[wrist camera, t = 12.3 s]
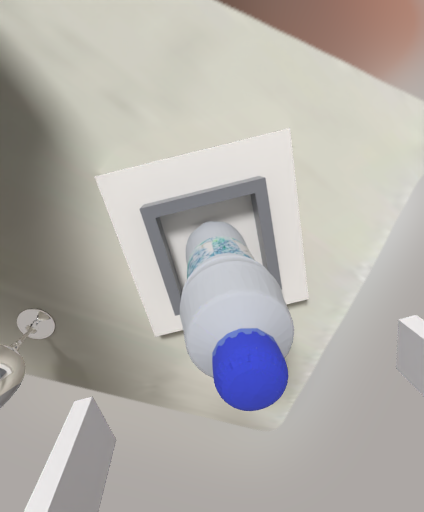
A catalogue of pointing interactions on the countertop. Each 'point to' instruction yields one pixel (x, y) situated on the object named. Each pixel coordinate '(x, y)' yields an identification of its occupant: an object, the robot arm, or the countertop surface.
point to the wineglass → (8, 358)
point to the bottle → (235, 318)
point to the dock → (207, 216)
